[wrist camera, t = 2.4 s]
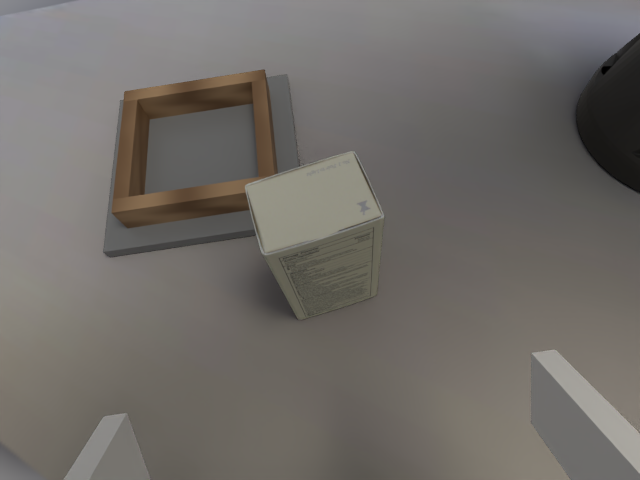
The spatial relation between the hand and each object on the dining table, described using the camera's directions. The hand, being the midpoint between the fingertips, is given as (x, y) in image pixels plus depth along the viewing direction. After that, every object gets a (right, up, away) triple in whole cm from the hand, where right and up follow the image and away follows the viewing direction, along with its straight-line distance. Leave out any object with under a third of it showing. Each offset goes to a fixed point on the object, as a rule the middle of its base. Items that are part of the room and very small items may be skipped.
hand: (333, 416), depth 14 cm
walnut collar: (-10, +13, +24) cm, 29 cm away
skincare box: (0, +2, +18) cm, 18 cm away
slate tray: (-10, +13, +24) cm, 29 cm away
